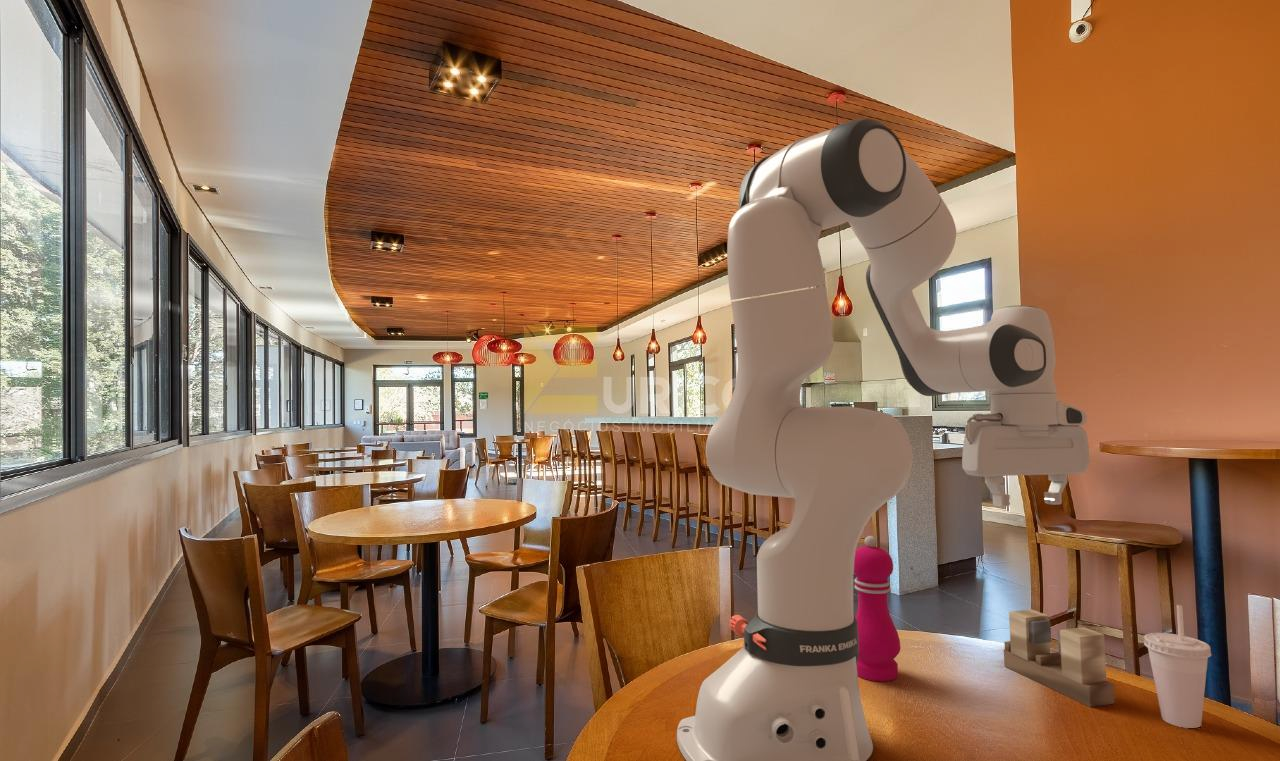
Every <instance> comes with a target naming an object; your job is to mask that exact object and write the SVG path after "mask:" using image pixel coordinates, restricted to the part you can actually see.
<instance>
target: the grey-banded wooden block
mask: <svg viewBox="0 0 1280 761" xmlns="http://www.w3.org/2000/svg"><path fill="white" fill-rule="evenodd" d="M1008 620H1009V641H1010V645H1011V653H1012V654H1014V655H1017V656H1019V657H1021V658H1023V659H1026V660H1034V659H1036V655H1040V654H1048V653H1051V649H1050V647H1051V644H1050V643H1052V629H1051V627H1052V624H1051V620H1050V619H1049V615H1048V614H1046V613H1042V612H1039V611H1037V610H1034V609H1023V610H1014V611H1013V610H1012V611H1009V612H1008Z"/></svg>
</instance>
